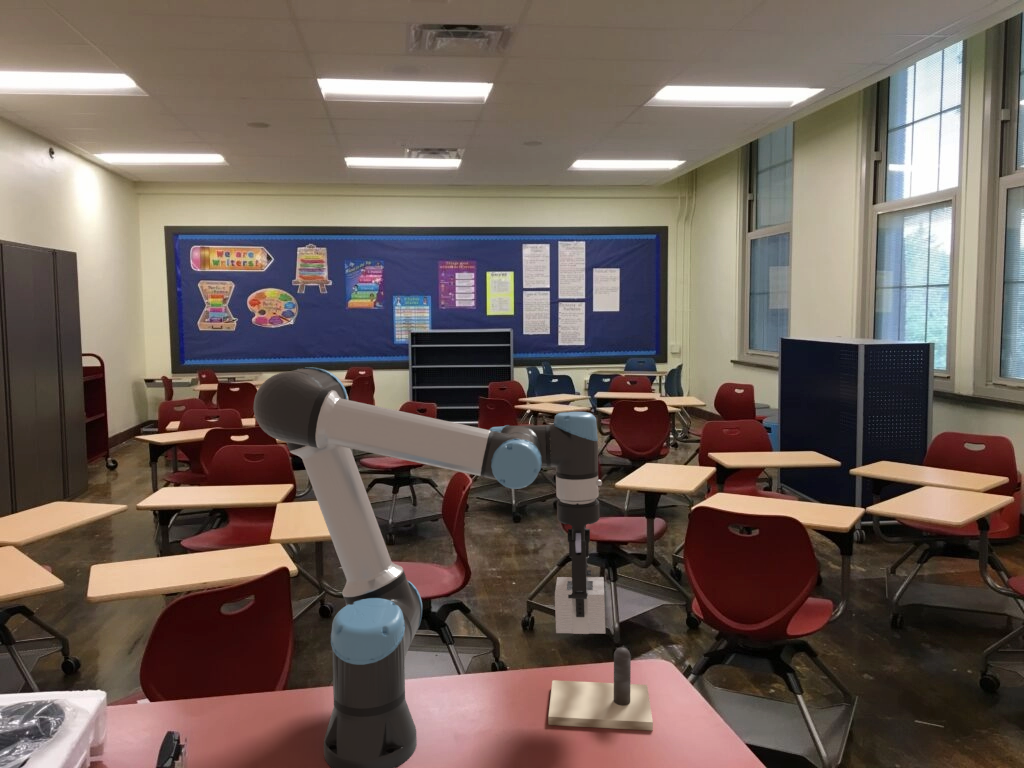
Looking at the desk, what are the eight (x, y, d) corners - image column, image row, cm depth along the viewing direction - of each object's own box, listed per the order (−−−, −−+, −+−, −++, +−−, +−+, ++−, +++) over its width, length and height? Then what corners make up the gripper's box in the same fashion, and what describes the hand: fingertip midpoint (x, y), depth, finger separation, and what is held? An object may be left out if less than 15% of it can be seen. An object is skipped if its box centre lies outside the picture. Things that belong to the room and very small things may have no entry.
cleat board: (548, 724, 126) (548, 661, 125) (552, 687, 139) (552, 630, 138) (652, 730, 124) (653, 666, 123) (647, 692, 137) (647, 633, 136)
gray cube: (556, 633, 127) (554, 594, 126) (558, 613, 135) (557, 577, 135) (605, 633, 126) (604, 594, 125) (604, 613, 134) (603, 577, 134)
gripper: (599, 514, 118) (603, 648, 120) (598, 485, 139) (601, 599, 141) (553, 514, 119) (557, 648, 120) (559, 485, 140) (562, 599, 142)
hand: (581, 621), depth 131 cm, fingers closed on gray cube, 9 cm apart
